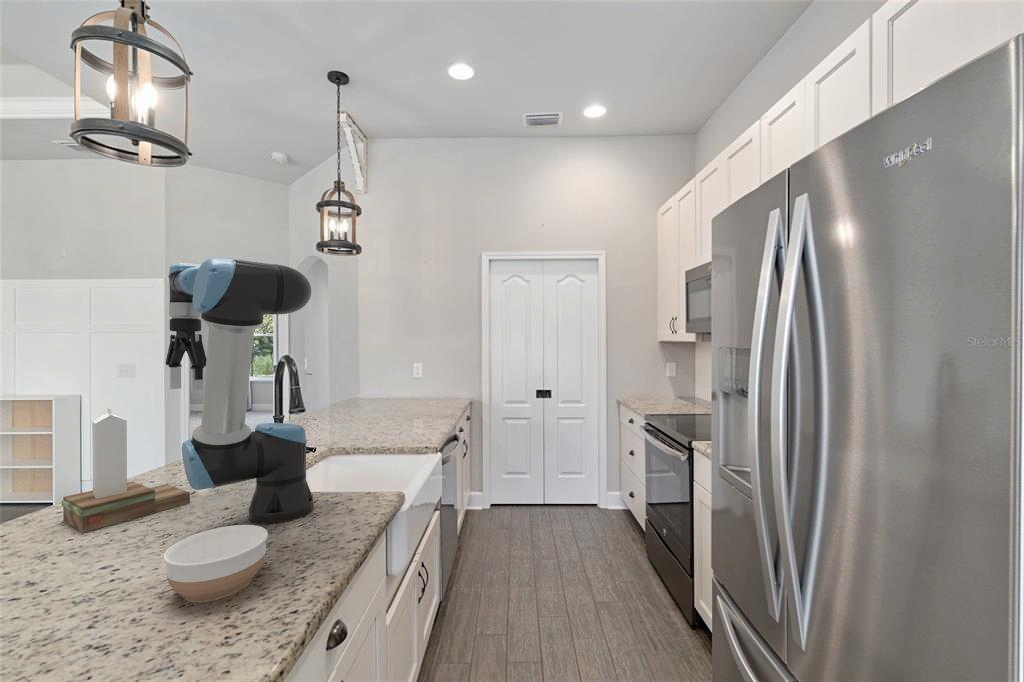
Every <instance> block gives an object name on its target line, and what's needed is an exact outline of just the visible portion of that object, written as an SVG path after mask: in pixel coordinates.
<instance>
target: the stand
mask: <svg viewBox="0 0 1024 682" xmlns="http://www.w3.org/2000/svg"><path fill="white" fill-rule="evenodd" d="M190 494H191V493H190V491H187V490H184V489H182V488H178V487H176V486H173V485H170V484H168V483H165V484H162V485H158V486H155V487H154V486H153V487H148V486H145V485H143V484H140V483H137V482H135V481H129V482H128V481H127V493H124V494H119V495H114V496H109V497H104V498H99V499H95V497H94V495H93V489H92V490H88V491H85V492H79V493H75V494H70V495H66V496H63V498H62V500H61V506H62V507H63V509H62V510H63V513H62V514H63V522H65V523H66V524H68V525H69V526H71V527H73V529H76V530H77V531H79V532H81V533H83V534H84V532H85V533H88V532H92V531H95V530H99V529H102V528H101V527H103V528H106V527H110V526H112V525H111V524H113V525H117V524H119V522H120V523H123V522H122V521H124V522H126V520H128V521H130V520H129V519H131V520H134V519H133V518H135V519H137V518H136V517H138V518H141V517H140V516H142V517H145V516H148V515H147V514H149V515H152V514H151V513H153V514H156V513H159V512H162V511H166V510H170V509H173V508H176V507H177V506H178V507H180V505H181V506H184V504H185V505H187V503H188V504H190V503H191V499H190V498H191V495H190ZM178 507H177V508H178ZM144 515H145V516H144ZM116 523H117V524H116ZM109 525H110V526H109ZM105 526H106V527H105ZM98 528H99V529H98ZM94 529H95V530H94ZM91 530H92V531H91ZM87 531H88V532H87Z"/></svg>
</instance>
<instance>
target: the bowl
mask: <svg viewBox="0 0 1024 682" xmlns="http://www.w3.org/2000/svg"><path fill="white" fill-rule="evenodd" d="M268 537H269V531H267V529H266V528H264V527H262V526H260V525H255V524H236V525H235V524H234V525H226V526H221V527H217V528H216V527H215V528H212V529H211V528H210V529H208V530H204V531H201V532H198V533H195V534H192V535H190V536H187V537H186V538H183V539H181V540H178V541H177V542H175V543H174V544H172V545H171V546H169V547H168V549H166V550H165V552H164V554H163V557H162V558H163V560H164V563H165V564H166V569H165V570H166V579H167V583H168V585H169V586H170V587H171V589H172V590H173V591H174V593H175V592H176V593H177V594H179V595H180V596H182V598H183V600H185V601H186V600H187V601H186V602H189V601H190V602H189V603H196V602H199V603H208V602H212V601H213V602H214V601H217V600H222V599H225V598H228V597H230V596H233V595H235V594H236V593H238V592H240V591H242V590H243V589H245V588H247V586H248V585H250V584H251V582H252V580H253V578H254V576H255V575H257V573H258V572H259V571H260V569H261V567H262V565H263V564H264V561H265V558H266V557H265V556H266V552H267V539H268ZM227 596H228V597H227ZM221 598H222V599H221Z"/></svg>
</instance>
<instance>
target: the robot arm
mask: <svg viewBox="0 0 1024 682" xmlns="http://www.w3.org/2000/svg"><path fill="white" fill-rule="evenodd" d="M168 282H169V283H168V285H169V286H168V287H169V288H168V289H169V303H168V315H169V317H170V319H169V331H171V332H176V333H175V334H170V336H169V337H170V338H169V346H168V349H167V350H168V351H167V354H166V357H165V358H166V359H165V366H168V367H169V390H177V389H179V390H180V389H182V367H183V365H182V364H181V363H182V360H183V358H184V355H185V352H186V353H187V357H188V359H189V361H190V364H191V366H190V368H189V369H190V375H191V377H190V378H191V379H190V381H191V382H190V383H191V384H190V385H191V386H190V387H191V389H190V390H191V391H190V392H191V393H193V392H194V393H195V392H203V398H202V410H201V411H202V413H201V424H200V425H198V426H197V427H196V428H195V429H194V430H192V435H191V436H192V437H191V439H188V440H185V441H183V442H182V444H181V445H182V446H181V454H182V456H181V457H182V462H183V466H184V467H183V468H184V472H185V475H186V479H187V481H188V482H187V483H188V484H189V485H190V487H191V488H192V489H194V490H196V491H202V490H208V489H217V488H218V487H222V486H228V485H233V484H236V483H240V482H245V481H251V480H255V488H254V492H253V494H252V498H251V500H250V504H249V507H248V513H247V514H248V515H247V516H248V517H247V519H248V520H249V522H251V523H255V524H258V525H259V524H262V525H263V524H264V525H266V524H267V525H268V524H269V525H270V524H278V523H279V524H281V523H285V522H290V521H293V520H296V519H300V518H302V517H304V516H306V515H308V514H310V513H312V511H313V510H314V504H315V503H314V497H313V495H312V492H311V489H310V486H309V484H308V481H307V443H308V442H307V437H306V429H305V428H304V427H303V426H301V425H299V424H295V423H283V422H281V423H280V422H267V423H259V424H258V423H257V425H255V428H254V431H252V429H251V427H250V426H249V425H247V424H246V415H247V414H246V413H247V406H248V405H247V404H248V397H249V396H248V395H249V385H250V374H251V368H252V367H251V366H252V365H251V364H252V355H253V344H254V336H255V334H254V333H255V330H256V329H257V328H259V327H260V326H262V325H263V322H264V317H265V316H264V315H286V314H291V313H292V314H293V313H295V312H297V311H300V310H301V309H303V308H304V307H305V306H306V305H307V304H308V303H309V302H310V300H311V296H312V286H311V283H310V281H309V280H308V278H307V277H306V276H305V275H304V274H303V273H302V272H300V271H298V270H297V269H296V268H292V267H290V266H287V265H283V264H275V263H274V264H273V263H272V264H271V263H267V262H265V263H264V262H258V261H250V260H243V259H235V258H219V257H218V258H217V257H211V258H208V259H205V260H204V261H203V262H202V263H201V265H200V266H197V265H190V264H183V263H181V264H180V263H179V264H172V265H170V267H169V272H168ZM200 318H201V319H200ZM202 321H203V322H204V323H205V324H206V325H207V327H208V333H207V350H206V351H205V348H204V345H203V336H202V334H201V333H199V332H201V331H202ZM196 332H198V333H196ZM204 369H205V371H204ZM204 373H205V375H204Z"/></svg>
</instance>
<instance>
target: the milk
mask: <svg viewBox="0 0 1024 682" xmlns="http://www.w3.org/2000/svg"><path fill="white" fill-rule="evenodd" d="M91 422H92V424H91V425H92V429H91V431H92V436H91V437H92V490H93V495H94V497H95V499H99V498H104V497H109V496H114V495H119V494H124V493H127V483H128V455H127V454H128V450H127V449H128V446H127V445H128V442H127V440H128V438H127V435H128V433H127V432H128V428H127V426H128V425H127V422H128V421H127V419H125V418H124V417H122V416H119V415H116V414H113V413H112V409H111V407H109V406H107V412H106V413H104V414H103V415H101V416H98V417H97V418H95V419H93V420H92V421H91Z"/></svg>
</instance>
